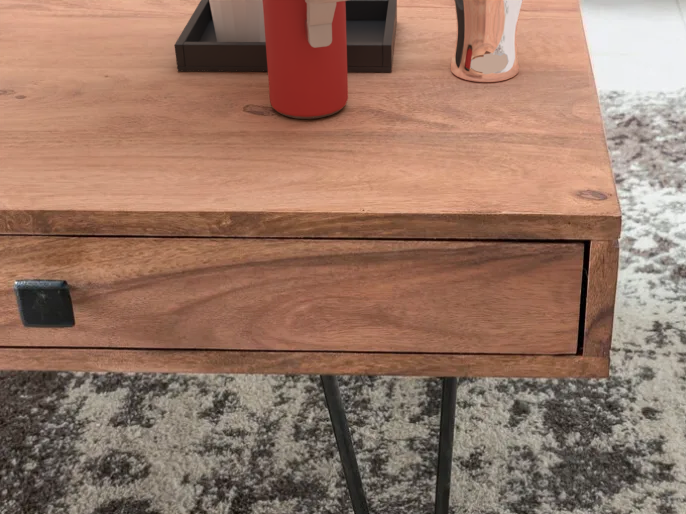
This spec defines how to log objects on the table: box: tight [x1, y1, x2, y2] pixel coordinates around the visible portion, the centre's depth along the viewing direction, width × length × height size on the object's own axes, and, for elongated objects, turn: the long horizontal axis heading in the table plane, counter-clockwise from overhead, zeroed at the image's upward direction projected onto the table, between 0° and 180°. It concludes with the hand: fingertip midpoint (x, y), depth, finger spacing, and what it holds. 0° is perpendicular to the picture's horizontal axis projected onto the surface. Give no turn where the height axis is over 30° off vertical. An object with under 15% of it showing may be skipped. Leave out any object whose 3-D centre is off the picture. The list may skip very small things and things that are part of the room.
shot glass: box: [209, 0, 266, 42], centre depth 99 cm, size 7×7×7 cm
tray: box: [174, 0, 398, 73], centre depth 100 cm, size 20×14×2 cm
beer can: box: [263, 0, 349, 120], centre depth 85 cm, size 7×7×12 cm
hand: (305, 26), depth 85 cm, fingers open, 7 cm apart
